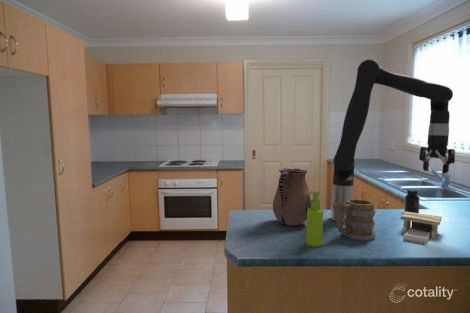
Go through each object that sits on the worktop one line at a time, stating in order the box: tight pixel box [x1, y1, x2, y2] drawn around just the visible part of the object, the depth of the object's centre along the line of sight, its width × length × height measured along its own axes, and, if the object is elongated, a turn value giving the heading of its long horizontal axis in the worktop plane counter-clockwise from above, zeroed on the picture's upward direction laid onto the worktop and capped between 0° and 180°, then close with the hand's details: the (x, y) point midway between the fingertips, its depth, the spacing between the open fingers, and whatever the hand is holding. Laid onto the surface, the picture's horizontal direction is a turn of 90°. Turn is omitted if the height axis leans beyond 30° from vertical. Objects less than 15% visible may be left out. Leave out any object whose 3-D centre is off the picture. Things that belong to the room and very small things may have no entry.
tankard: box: [333, 198, 377, 241], centre depth 133 cm, size 20×13×15 cm, turn 110°
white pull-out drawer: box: [402, 227, 432, 245], centre depth 133 cm, size 15×8×2 cm, turn 144°
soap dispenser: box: [305, 190, 324, 248], centre depth 123 cm, size 6×7×20 cm
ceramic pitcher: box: [272, 167, 311, 227], centre depth 148 cm, size 18×21×25 cm
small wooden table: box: [400, 212, 443, 239], centre depth 140 cm, size 11×14×7 cm
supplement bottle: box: [404, 189, 420, 214], centre depth 172 cm, size 7×7×12 cm
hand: (435, 171), depth 141 cm, fingers open, 8 cm apart
